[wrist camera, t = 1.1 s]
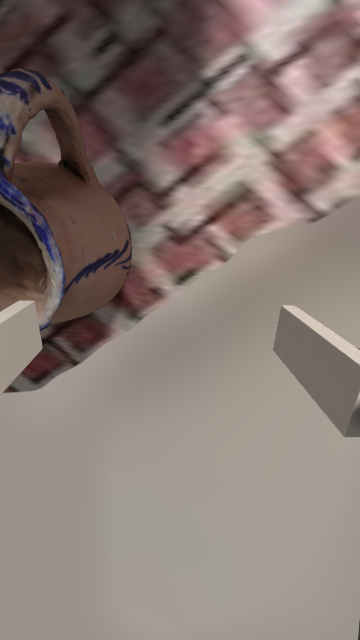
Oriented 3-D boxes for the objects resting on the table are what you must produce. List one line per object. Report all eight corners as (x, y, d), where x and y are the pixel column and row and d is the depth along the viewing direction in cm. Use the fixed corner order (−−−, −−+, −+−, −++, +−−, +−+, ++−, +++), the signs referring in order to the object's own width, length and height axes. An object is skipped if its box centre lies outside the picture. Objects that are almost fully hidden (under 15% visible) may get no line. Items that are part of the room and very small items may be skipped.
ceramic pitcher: (7, 279, 41) (-202, 358, 17) (28, 124, 34) (-263, -86, 11) (120, 313, 44) (71, 418, 20) (159, 176, 37) (153, 98, 14)
